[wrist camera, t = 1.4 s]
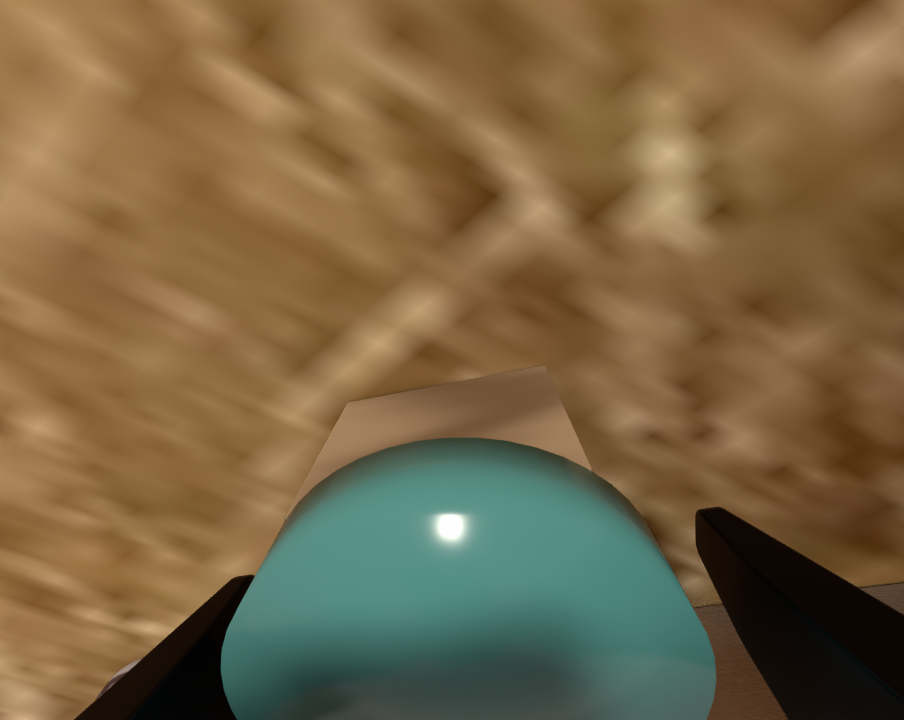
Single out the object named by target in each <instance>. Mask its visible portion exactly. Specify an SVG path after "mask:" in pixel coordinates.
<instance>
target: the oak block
mask: <svg viewBox="0 0 904 720" xmlns="http://www.w3.org/2000/svg"><path fill="white" fill-rule="evenodd" d="M438 438H486V439H495V440H504V441H510V442H515V443H519V444H524V445H528V446H533V447H537V448H540V449H543V450H545V451H548V452H551V453H554V454H557V455H560V456H563V457H565V458H567V459H569V460H571V461H573V462H575V463H577V464H579V465H581V466H583V467H585V468H587V469H588V470H590V471H591V472H592V469H591V467H590V464H589V462H588V460H587V458H586V455H585V453H584V451H583V449H582V447H581V444H580V442H579V440H578V438H577V435H576V433H575V431H574V429H573V427H572V424H571V422H570V420H569V418H568V415H567V413H566V411H565V409H564V406H563V404H562V402H561V400H560V398H559V395H558V393H557V391H556V389H555V386H554V384H553V382H552V380H551V378H550V375H549V373H548V371H547V369H546V366H545V365H544V366H539V367H533V368H528V369H523V370H518V371H512V372H507V373H502V374H497V375H491V376H486V377H481V378H475V379H470V380H465V381H460V382H454V383H449V384H444V385H438V386H433V387H428V388H423V389H417V390H412V391H407V392H401V393H396V394H391V395H386V396H380V397H375V398H370V399H364V400H359V401H354V402H349V403H347V405H346V407H345V409H344V410H343V412H342V414H341V416H340V418H339V419H338V421H337V423H336V425H335V427H334V428H333V430H332V432H331V434H330V436H329V438H328V439H327V441H326V443H325V445H324V447H323V448H322V450H321V452H320V454H319V456H318V457H317V459H316V461H315V463H314V465H313V466H312V468H311V470H310V472H309V474H308V476H307V477H306V479H305V481H304V483H303V485H302V486H301V488H300V490H299V492H298V494H297V495H296V497H295V499H294V501H293V503H292V505H291V506H290V508H289V510H288V512H287V514H286V515H285V517H284V519H285V520H286V518H287V517H288V516H289V514H290V513H291V511H292V510H293V509H294V507H295V506H296V505H297V503H298V502H299V501H300V500H301V499H302V498H303V497H304V496H305V495H306V494H307V493H308V492H309V491H310V490H311V489H312V488H313V487H314V486H315V485H316V484H318V483H319V482H321V481H322V480H323V479H325V478H326V477H328V476H329V475H330V474H332V473H333V472H335V471H336V470H338V469H340V468H342V467H344V466H345V465H347V464H349V463H351V462H353V461H355V460H357V459H359V458H361V457H364V456H366V455H369V454H372V453H375V452H377V451H380V450H383V449H385V448H389V447H393V446H397V445H402V444H406V443H410V442H414V441H421V440H430V439H438Z"/></svg>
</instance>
